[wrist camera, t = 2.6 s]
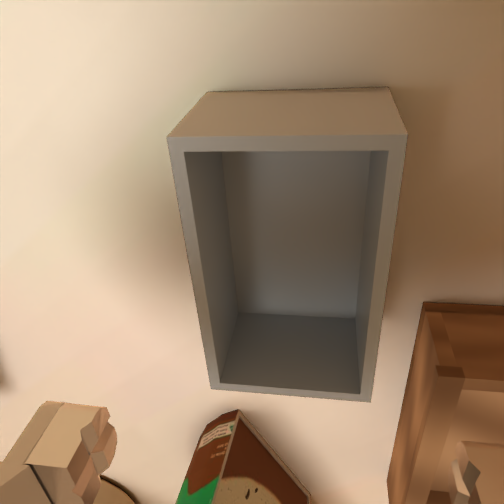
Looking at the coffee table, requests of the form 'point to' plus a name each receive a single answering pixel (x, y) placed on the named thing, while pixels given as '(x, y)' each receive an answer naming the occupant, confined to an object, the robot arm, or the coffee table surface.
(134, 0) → the coffee table surface
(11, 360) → the coffee table surface
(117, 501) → the travel mug
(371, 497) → the coffee table surface
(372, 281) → the small crate
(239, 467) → the food container
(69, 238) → the coffee table surface
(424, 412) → the big crate
